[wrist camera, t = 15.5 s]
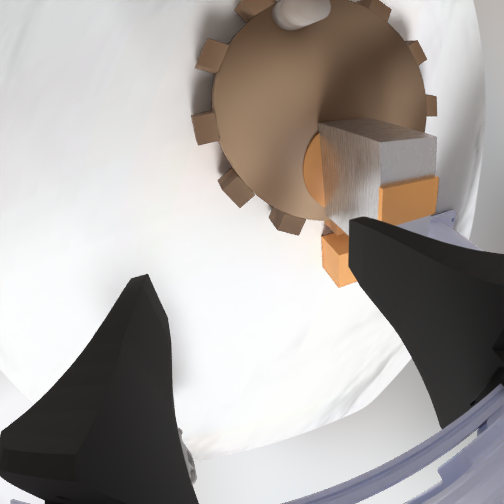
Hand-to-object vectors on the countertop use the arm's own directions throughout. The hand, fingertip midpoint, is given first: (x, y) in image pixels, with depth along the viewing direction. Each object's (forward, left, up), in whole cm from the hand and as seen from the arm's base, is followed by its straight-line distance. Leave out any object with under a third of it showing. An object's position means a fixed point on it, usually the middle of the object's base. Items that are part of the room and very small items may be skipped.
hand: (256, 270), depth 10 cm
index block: (-8, -8, -10) cm, 15 cm away
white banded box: (0, -8, -8) cm, 11 cm away
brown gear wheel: (+4, -8, -10) cm, 14 cm away
